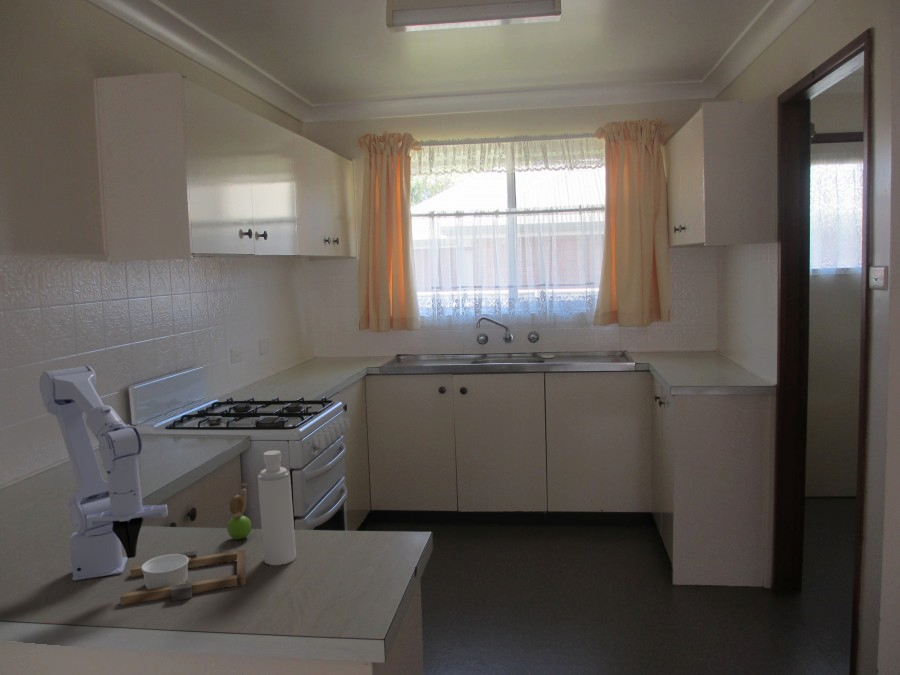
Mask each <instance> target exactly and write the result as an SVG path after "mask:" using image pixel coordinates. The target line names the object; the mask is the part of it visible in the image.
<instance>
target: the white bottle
mask: <svg viewBox="0 0 900 675" xmlns="http://www.w3.org/2000/svg"><path fill="white" fill-rule="evenodd" d="M263 462H264V464H265V468H264V469H262V470H261V471H260V472H259V473H258V474H257V485H258V486H257V488H258V498H259V501H258V502H259V511H260V527H261V537H262V539H261V540H262V549H263V561H264V563H265V564H266V563H267V564H266V565H268V564H269V566H282V564H283V565H287V564H289V563H291V562H294V560H295V559H296V558H297V550H296V548H297V547H296V536H295V523H294V512H293V509H294V508H293V497H292V496H293V494H292V484H291V482H292V481H291V472H290V470H288V469H287V468H286V467H283V466H281V462H282V452H281V451H280V450H267V451H265V452H263Z"/></svg>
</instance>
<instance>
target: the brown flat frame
mask: <svg viewBox="0 0 900 675" xmlns="http://www.w3.org/2000/svg"><path fill="white" fill-rule="evenodd" d="M197 553H198V552H197V550H193V551H187V552H180V553H178V554H181V555H185V556H187V557H188V559H189V562H188V568H189V569H194V567H195V568H199V566H202V567H205V566H204V565H208V566H212V564H214V565H218V564H217V563H221V564H223V563H222V562H227V563H230V562H229V561H234V562H236V574H235V575H229V576H222V577H216V578H211V579H209V578H208V579H204V580H197V581H191V582H187V581H186V582H183V583H179V584H178V585H171V586H165V587H159V588H153V589H147V588H146V589H142V590H135V591H134V590H133V591H129V592H123V593H121V594H120V597H119V599H120V605H121V606H125V605H130V604H137V603H143V602H149V601H155V600H161V599H165V598H166V599H167V598H168V599H169V598H171V602H176V601H181V600H188V599H192V598H193V594H196V593H203V591H204V592H210V591H215V589H217V590H220V589H219V588H223V589H225V588H224V587H229V588H232V587H231V586H235V587H237V586H236V585H241V586H245V585H244V584H247V582H246V581H247V580H246V579H247V578H246V577H247V575H246V573H247V570H246V568H247V567H246V565H245V562H246V549H243V550H242V549H241V550H236V551H235V550H234V551H227V552H222V553H220V552H219V553H214V554H209V555H208V554H207V555H201V556H198V554H197ZM235 560H237V561H235ZM142 565H143V564H142ZM142 565H135V566H130V570H129V574H130V578H135V577H144V576H143V572H142V569H141V567H142ZM209 590H210V591H209Z"/></svg>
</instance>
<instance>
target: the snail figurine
mask: <svg viewBox="0 0 900 675" xmlns="http://www.w3.org/2000/svg"><path fill="white" fill-rule="evenodd" d="M247 485H248V484H247V483H241V486H242V489H241V491H240V493H241V495H239V494H235V495H234V496H232V498H231V499H230V502H229V511H230V513H231V519H229V521H228V522H227V526H226V530H227V533H228V535H229V536H230V538H233V539H234V540H243V539H245V538H246V537H248V536H249V535H250V533H251V531H252V528H253V527H252V521H251V520H250V518H249V517H248V516H245V515H243V513H244V512H245V511H246V507H247V492H248V490H247V488H244V487H247Z"/></svg>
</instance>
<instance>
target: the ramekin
mask: <svg viewBox="0 0 900 675" xmlns="http://www.w3.org/2000/svg"><path fill="white" fill-rule="evenodd" d="M188 562H189V559H188V557H187V556H185V555H181V554H179V553H171V554H163V555H160V556H155V557H153V558H151V559H148V560H147V561H145V562H144V563H143V564H142V567H141V569H142V572H143V575H144V576H143V581H144V585H145V587H146V589H153V588H159V587H165V586H171V585H178V584H179V583H183V582H186V583H187V580H188V576H189V572H188Z"/></svg>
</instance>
